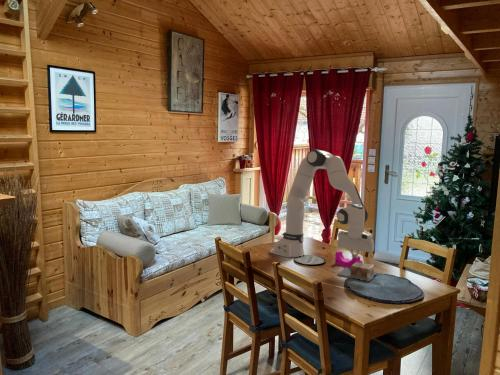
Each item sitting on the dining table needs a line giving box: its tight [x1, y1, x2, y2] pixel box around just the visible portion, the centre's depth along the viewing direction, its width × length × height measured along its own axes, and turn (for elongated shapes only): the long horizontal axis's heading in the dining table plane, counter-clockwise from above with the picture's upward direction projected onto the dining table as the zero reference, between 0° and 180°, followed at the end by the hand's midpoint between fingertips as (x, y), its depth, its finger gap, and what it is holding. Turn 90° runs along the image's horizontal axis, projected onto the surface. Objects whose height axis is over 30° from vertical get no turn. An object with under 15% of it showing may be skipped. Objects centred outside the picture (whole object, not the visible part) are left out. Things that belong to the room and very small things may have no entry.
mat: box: [336, 267, 379, 282], centre depth 231 cm, size 18×16×1 cm
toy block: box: [334, 250, 363, 268], centre depth 246 cm, size 15×6×8 cm, turn 41°
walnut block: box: [351, 262, 375, 278], centre depth 229 cm, size 5×9×10 cm
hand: (354, 257), depth 231 cm, fingers closed
